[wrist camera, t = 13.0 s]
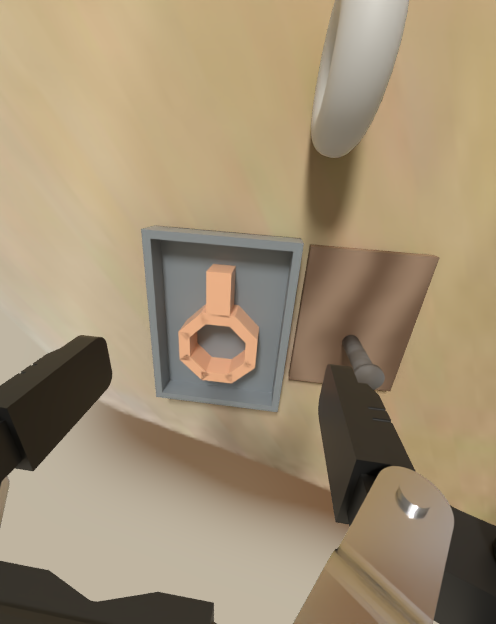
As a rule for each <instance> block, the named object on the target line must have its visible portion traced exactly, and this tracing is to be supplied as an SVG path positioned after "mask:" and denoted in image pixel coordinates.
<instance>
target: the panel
mask: <svg viewBox="0 0 496 624" xmlns="http://www.w3.org/2000/svg"><path fill="white" fill-rule="evenodd" d="M438 260H439V257H437V256H434V255H424V254H413V253H402V252H391V251H379V250H368V249H357V248H345V247H334V246H323V245H312V244H310V248H309V254H308V260H307V266H306V272H305V278H304V284H303V290H302V296H301V302H300V308H299V315H298V321H297V327H296V333H295V339H294V345H293V351H292V357H291V363H290V369H289V379H292V380H300V381H309V382H317V383H323V379H324V375H325V370H326V367H327V365H328V364H334V365H342V366H351V367H352V369H353V371H354V374H355V376H356V379H357V381H358V383H366V384H368V385H369V386H370V387H371V388H372V389H373V390H375V389H376V390H385V391H390V390H391V387H392V385H393V382H394V379H395V377H396V374H397V371H398V368H399V366H400V363H401V360H402V358H403V355H404V352H405V350H406V347H407V344H408V341H409V339H410V336H411V333H412V331H413V328H414V325H415V322H416V320H417V317H418V314H419V312H420V309H421V306H422V304H423V301H424V298H425V295H426V293H427V290H428V287H429V285H430V282H431V279H432V276H433V274H434V271H435V268H436V266H437V263H438Z"/></svg>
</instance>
